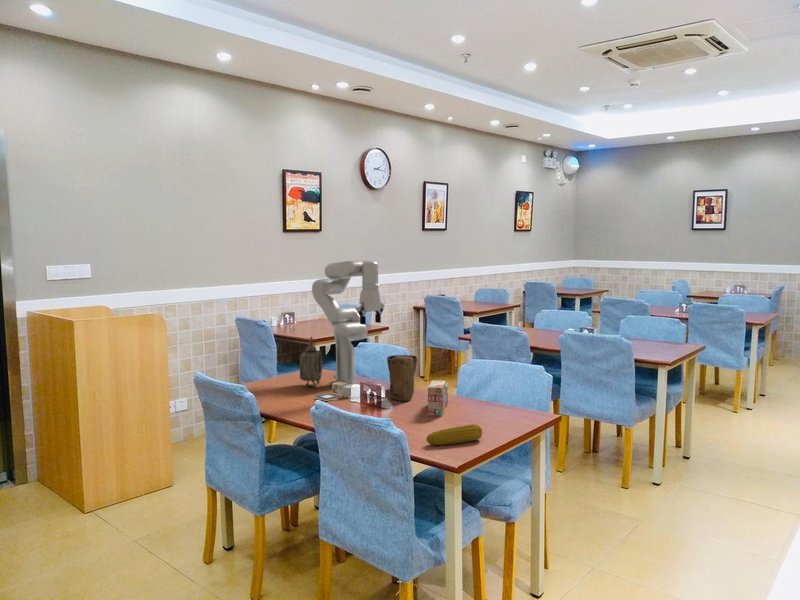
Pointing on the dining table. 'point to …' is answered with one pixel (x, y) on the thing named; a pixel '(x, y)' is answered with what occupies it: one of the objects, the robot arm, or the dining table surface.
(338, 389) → the birch block
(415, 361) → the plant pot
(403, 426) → the dining table surface
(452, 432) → the food
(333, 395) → the blueprint pad
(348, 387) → the sage block
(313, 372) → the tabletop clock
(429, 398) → the stack of blocks
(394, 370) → the brown tapered cylinder
